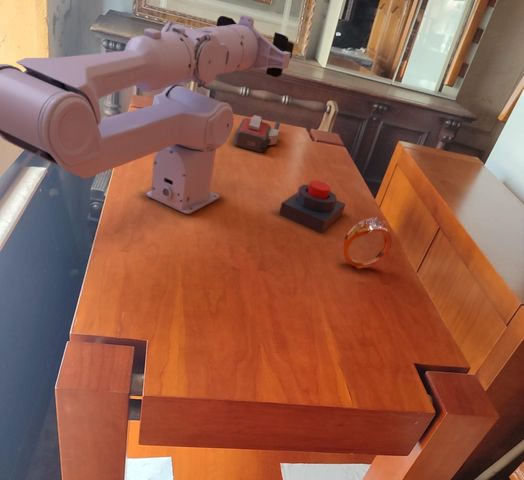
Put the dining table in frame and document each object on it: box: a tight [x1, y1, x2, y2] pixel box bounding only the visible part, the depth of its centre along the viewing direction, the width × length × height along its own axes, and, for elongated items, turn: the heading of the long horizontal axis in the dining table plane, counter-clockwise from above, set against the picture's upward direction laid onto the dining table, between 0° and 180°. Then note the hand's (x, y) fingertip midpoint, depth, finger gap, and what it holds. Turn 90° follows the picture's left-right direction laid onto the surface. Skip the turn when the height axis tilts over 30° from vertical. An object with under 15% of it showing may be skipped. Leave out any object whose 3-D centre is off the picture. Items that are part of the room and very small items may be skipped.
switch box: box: [278, 184, 346, 234], centre depth 83 cm, size 10×8×4 cm
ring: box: [342, 216, 392, 270], centre depth 71 cm, size 7×3×8 cm, turn 93°
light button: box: [307, 180, 331, 199], centre depth 81 cm, size 4×4×2 cm
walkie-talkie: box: [233, 114, 281, 153], centre depth 107 cm, size 9×4×20 cm
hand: (270, 43), depth 80 cm, fingers open, 7 cm apart
